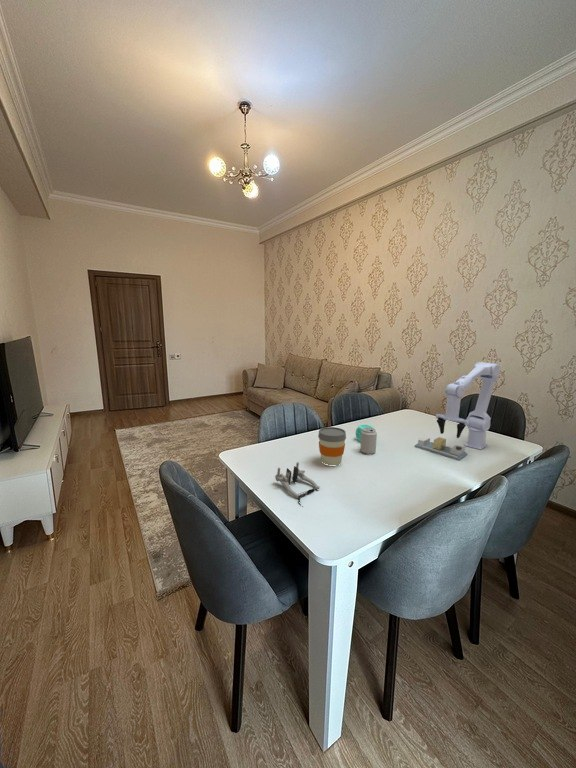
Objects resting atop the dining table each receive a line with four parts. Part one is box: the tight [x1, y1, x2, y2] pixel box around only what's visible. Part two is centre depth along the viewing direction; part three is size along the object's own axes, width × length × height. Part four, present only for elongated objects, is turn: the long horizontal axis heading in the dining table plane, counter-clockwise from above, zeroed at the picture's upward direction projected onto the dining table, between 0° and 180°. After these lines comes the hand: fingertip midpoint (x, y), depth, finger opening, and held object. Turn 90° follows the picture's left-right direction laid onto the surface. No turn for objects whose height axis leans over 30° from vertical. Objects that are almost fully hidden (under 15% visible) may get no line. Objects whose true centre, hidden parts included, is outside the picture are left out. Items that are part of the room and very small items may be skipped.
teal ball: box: [355, 424, 375, 443], centre depth 170 cm, size 8×8×8 cm
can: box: [359, 427, 378, 455], centre depth 154 cm, size 8×8×12 cm
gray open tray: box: [414, 436, 469, 461], centre depth 156 cm, size 10×22×4 cm, turn 41°
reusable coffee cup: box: [317, 426, 347, 466], centre depth 142 cm, size 12×13×15 cm
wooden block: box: [433, 436, 447, 451], centre depth 156 cm, size 6×4×5 cm, turn 131°
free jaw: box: [450, 444, 466, 457], centre depth 150 cm, size 7×4×4 cm, turn 131°
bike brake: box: [274, 461, 320, 503], centre depth 119 cm, size 14×7×20 cm
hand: (449, 435), depth 152 cm, fingers open, 7 cm apart
